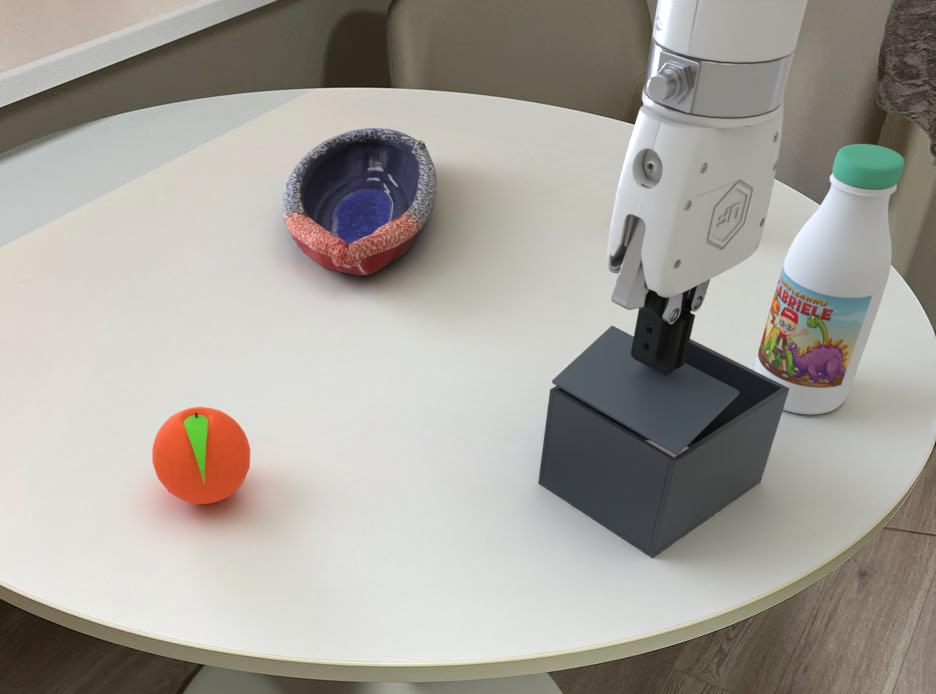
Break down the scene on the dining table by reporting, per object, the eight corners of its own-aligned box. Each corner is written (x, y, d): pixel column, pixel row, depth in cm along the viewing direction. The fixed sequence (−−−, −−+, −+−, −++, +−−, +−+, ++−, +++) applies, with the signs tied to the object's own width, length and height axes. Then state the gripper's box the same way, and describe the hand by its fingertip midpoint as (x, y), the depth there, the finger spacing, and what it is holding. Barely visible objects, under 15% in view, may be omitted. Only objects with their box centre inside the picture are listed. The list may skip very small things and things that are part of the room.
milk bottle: (780, 355, 92) (848, 124, 79) (862, 391, 88) (949, 155, 74) (732, 389, 88) (794, 153, 74) (816, 429, 84) (898, 187, 70)
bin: (652, 558, 73) (675, 462, 67) (537, 483, 79) (549, 389, 73) (760, 481, 79) (789, 388, 73) (646, 417, 85) (665, 326, 79)
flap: (677, 455, 67) (676, 452, 67) (552, 383, 73) (551, 380, 72) (739, 394, 68) (739, 390, 68) (612, 328, 74) (612, 325, 74)
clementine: (261, 526, 75) (253, 446, 70) (162, 540, 74) (147, 459, 69) (249, 458, 81) (240, 380, 76) (157, 470, 79) (142, 391, 75)
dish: (448, 167, 121) (450, 123, 117) (417, 302, 98) (418, 252, 95) (315, 159, 122) (313, 115, 119) (254, 290, 100) (249, 240, 96)
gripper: (686, 130, 52) (627, 431, 64) (851, 65, 59) (769, 346, 72) (572, 88, 56) (537, 379, 68) (739, 32, 63) (680, 303, 76)
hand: (656, 362), depth 70 cm, fingers closed
